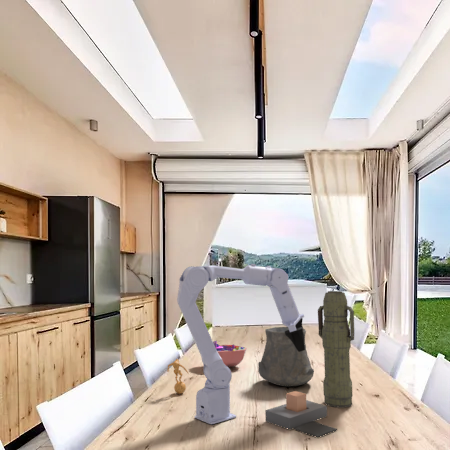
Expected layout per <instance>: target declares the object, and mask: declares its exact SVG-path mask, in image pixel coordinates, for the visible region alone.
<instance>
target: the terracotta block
mask: <svg viewBox="0 0 450 450" xmlns="http://www.w3.org/2000/svg"><path fill="white" fill-rule="evenodd" d="M285 399H286V400H285V402H286V403H285V404H286V408H287V409H289V410H292V411H295V412H300V411H303V410H306V409H307V407H306V400H307V393H304V392H301V391H297V390H294V391H290V392H288V393H286V398H285Z"/></svg>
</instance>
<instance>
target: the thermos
mask: <svg viewBox="0 0 450 450" xmlns="http://www.w3.org/2000/svg"><path fill="white" fill-rule="evenodd" d="M348 311H349V314H348ZM354 313H355V312H354V309H353V308H352V307H351V306H349V305H348V299H347V295H346V294H345V292H343V291H342V290H341V291H340V290H329V291H327V292H325V294H324V296H323V301H322V305H320V306H319V307H318V309H317V322H318V336H319V337H320V338H321V339H322V340H321V341H322V347H323V352H324V353H323V357H324V359H323V361H324V362H323V363H324V378H323V381H322V382H323V383H322V384H323V387H322V388H323V397H324V402H323V403H324V405H326V404H327V405H326V406H328V405H329V406H328V407H332V406H334V407H333V408H349V407H352V406H353V395H354V394H353V381H352V379H351V364H350V363H351V361H350V349H351V342H353V341H354V340H355V314H354ZM348 316H349V321H348ZM349 325H350V326H349ZM351 405H352V406H351Z"/></svg>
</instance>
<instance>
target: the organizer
mask: <svg viewBox="0 0 450 450" xmlns="http://www.w3.org/2000/svg"><path fill="white" fill-rule="evenodd" d="M327 406H328V405H326V404H321V403H318V402H315V401H310V400H307V399H306V407H307V409H306V410H303V411H300V412H295V411H292V410H289V409H287V408H286V403H285V404H281V405H279V406H275V407H271V408H269V409H265V413H264V415H265V422H266V421H267V422H266V423H269V422H270V423H269V424H272V423H273V424H272V425H275V424H276V425H275V426H278V425H279V426H278V427H280V426H282V427H281V428H283V427H285V428H284V429H286V428H288V429H287V430H289V429H291V430H293V429H292V428H295V427H298V426H301V425H304V424H306V423H309V422H312V421H314V422H316V421H318V420H317V419H319V420H321V419H320V418H322V419H324V418H327V417H328V410H327V409H328V407H327ZM326 416H327V417H326ZM323 417H324V418H323ZM315 420H316V421H315Z"/></svg>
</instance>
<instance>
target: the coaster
mask: <svg viewBox="0 0 450 450" xmlns="http://www.w3.org/2000/svg"><path fill="white" fill-rule="evenodd" d="M294 429H295V430H294ZM294 429H293V430H294V431H297V430H299V431H301V432H300V433H302V432H304V433H303V434H305V433H307V434H306V435H308V434H310V435H309V436H311V435H313V436H312V437H314V436H316V437H320V436H322V437H324V436H323V435H325V434H327V435H329V434H328V433H330V432H332V433H334V432H337V431H338V428H335V427H333V426H329V425H327V424H323V423H320V422H317V421H312V422H309V423H306V424H304V425H301V426H298V427H295V428H294ZM336 430H337V431H336ZM299 431H298V432H299ZM333 431H334V432H333ZM330 434H331V433H330ZM325 436H326V435H325ZM316 437H315V438H316ZM320 438H321V437H320Z"/></svg>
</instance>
